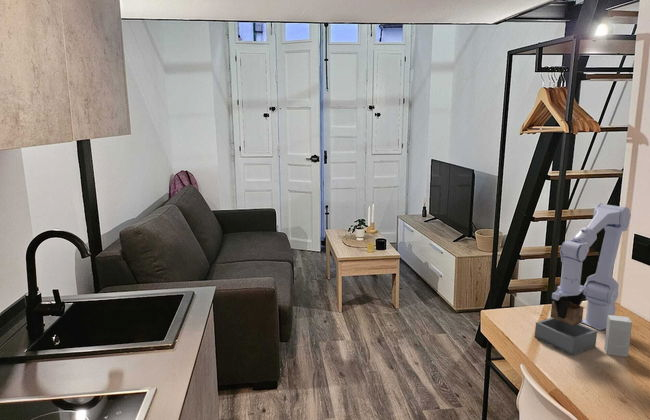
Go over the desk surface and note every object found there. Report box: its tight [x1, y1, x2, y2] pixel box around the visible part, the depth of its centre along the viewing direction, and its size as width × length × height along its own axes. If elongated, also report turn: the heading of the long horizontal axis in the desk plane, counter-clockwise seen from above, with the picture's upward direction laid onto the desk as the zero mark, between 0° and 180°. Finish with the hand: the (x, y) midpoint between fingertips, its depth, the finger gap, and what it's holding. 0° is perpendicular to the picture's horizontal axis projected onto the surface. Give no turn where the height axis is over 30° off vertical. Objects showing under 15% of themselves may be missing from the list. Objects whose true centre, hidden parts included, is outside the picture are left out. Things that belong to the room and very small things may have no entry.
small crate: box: [549, 300, 584, 326], centre depth 157 cm, size 5×8×6 cm, turn 27°
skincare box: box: [603, 315, 633, 358], centre depth 150 cm, size 6×4×12 cm
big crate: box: [534, 317, 598, 356], centre depth 158 cm, size 12×14×6 cm
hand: (566, 315), depth 157 cm, fingers closed on small crate, 5 cm apart
